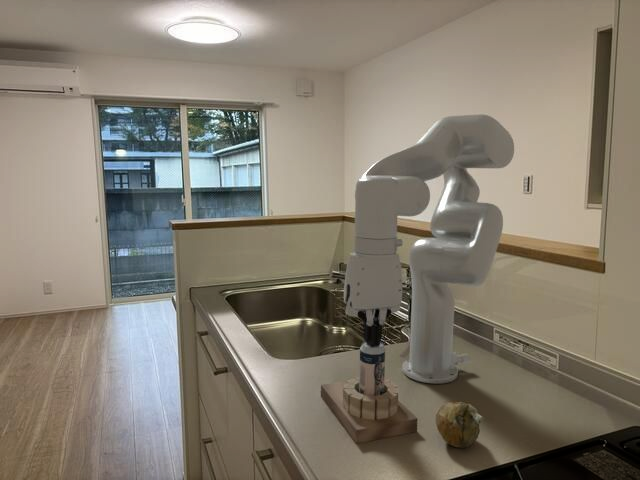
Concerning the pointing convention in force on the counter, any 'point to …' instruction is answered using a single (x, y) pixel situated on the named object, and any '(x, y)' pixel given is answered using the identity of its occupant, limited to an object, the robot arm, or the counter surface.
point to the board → (367, 425)
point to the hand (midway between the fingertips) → (372, 343)
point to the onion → (458, 424)
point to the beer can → (372, 369)
